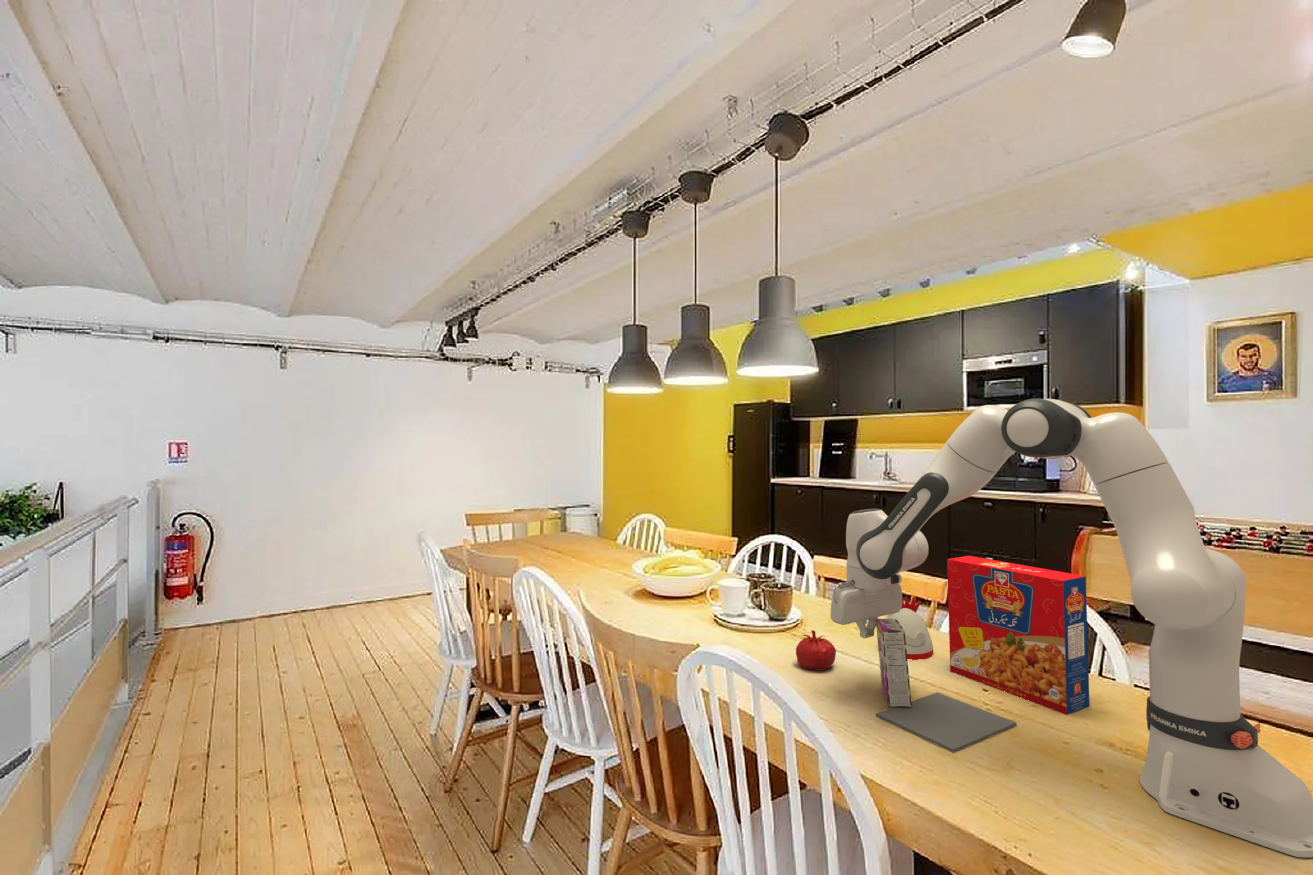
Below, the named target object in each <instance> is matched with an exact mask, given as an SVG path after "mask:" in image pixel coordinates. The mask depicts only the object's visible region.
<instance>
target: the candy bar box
mask: <svg viewBox="0 0 1313 875" xmlns="http://www.w3.org/2000/svg"><path fill="white" fill-rule="evenodd" d="M875 629H876V639H877V648H878V649H877V650H878V659H879V668H880V677H881V678H880V679H881V689H882V692H883V694H884V696H885V698H886V701H887V704H888V706H889V708H893V707H912V703H911V701H912V696H911V695H912V694H911V686H910V685H911V683H910V682H911V681H910V673H909V662H908V661H909V660H907V650H906V642H905V631H904V630H903V628H902V626H901V625H900V623H899V622H898V620H897V619H886V618H878V619H876V627H875Z"/></svg>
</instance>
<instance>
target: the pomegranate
mask: <svg viewBox="0 0 1313 875" xmlns="http://www.w3.org/2000/svg"><path fill="white" fill-rule="evenodd" d="M810 632H811V634H812V637H811V636H810V635H808V634H802V636H803V639H801V640H800V641H799V642H798V644H797V645H796V647H795V656H796V660H797V663H798V665H799V666H800V667H802V668H804V669H808V670H811V671H812V670H815V671H825V670H827V669H829V668H831V666H833V664H834V663H835V661H836V655H837V654H836V653H837V650H836V647H835V645H833V643H832V642H831V641H829V640H828V639H826V638H823V637H824V635H821V636H818V637H817V636H816V635H817V634H816V631H815V630H814V629H811V631H810Z"/></svg>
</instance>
